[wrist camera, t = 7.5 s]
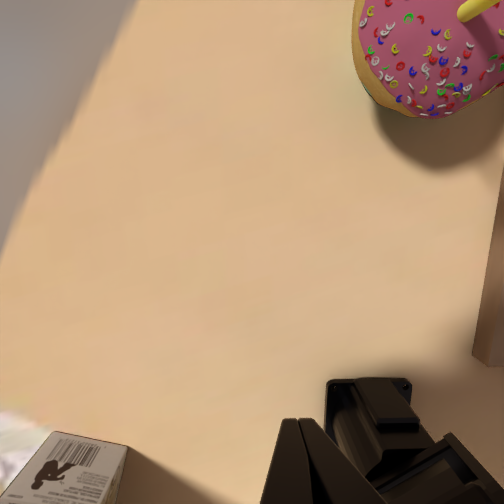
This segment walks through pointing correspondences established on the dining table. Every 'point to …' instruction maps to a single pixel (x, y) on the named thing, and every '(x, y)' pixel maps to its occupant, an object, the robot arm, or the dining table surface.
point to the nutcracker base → (493, 297)
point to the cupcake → (428, 53)
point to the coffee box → (69, 473)
